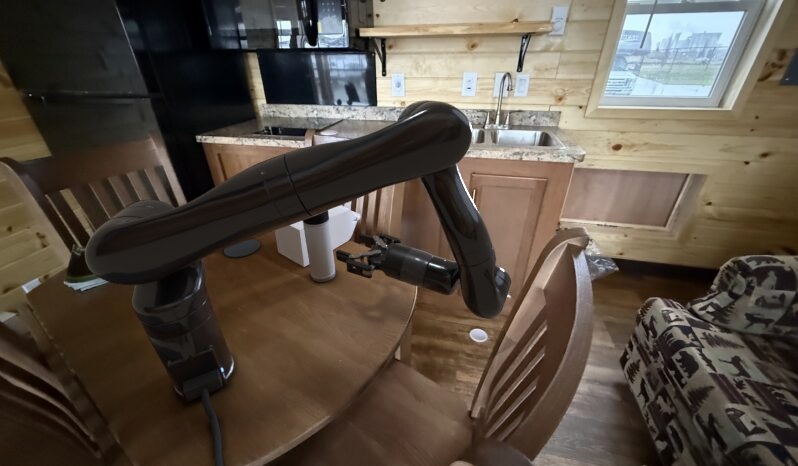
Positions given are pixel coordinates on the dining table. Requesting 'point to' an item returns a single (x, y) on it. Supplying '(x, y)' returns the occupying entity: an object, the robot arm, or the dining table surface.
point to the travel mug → (319, 247)
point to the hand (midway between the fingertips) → (348, 245)
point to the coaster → (242, 249)
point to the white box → (294, 237)
